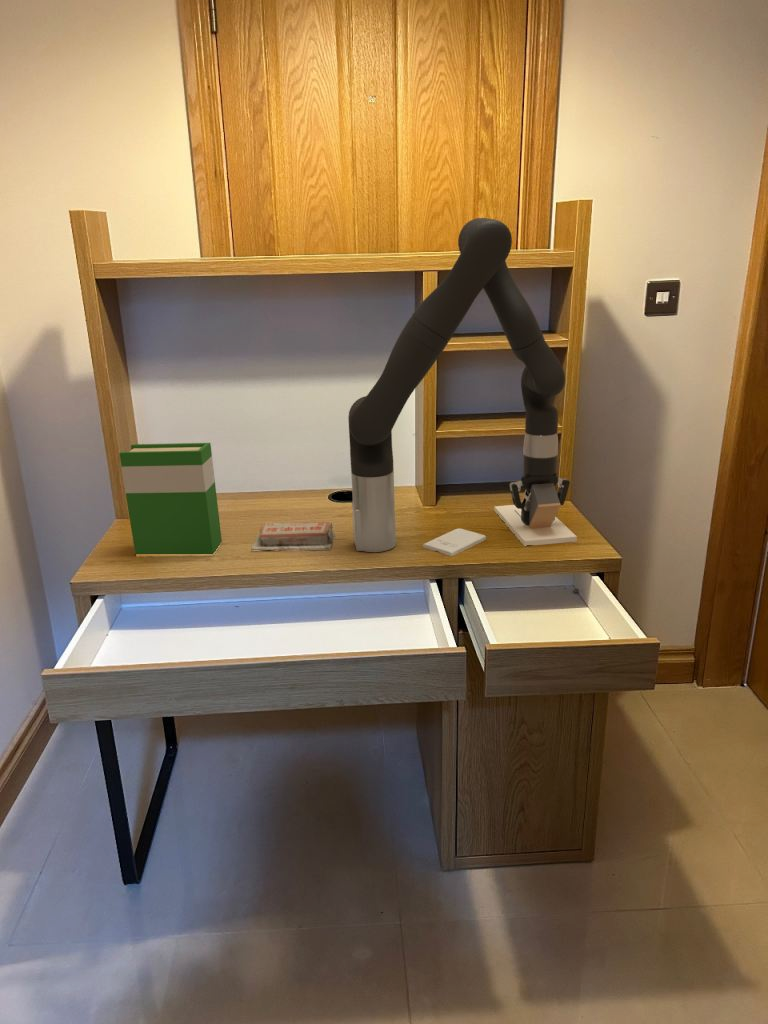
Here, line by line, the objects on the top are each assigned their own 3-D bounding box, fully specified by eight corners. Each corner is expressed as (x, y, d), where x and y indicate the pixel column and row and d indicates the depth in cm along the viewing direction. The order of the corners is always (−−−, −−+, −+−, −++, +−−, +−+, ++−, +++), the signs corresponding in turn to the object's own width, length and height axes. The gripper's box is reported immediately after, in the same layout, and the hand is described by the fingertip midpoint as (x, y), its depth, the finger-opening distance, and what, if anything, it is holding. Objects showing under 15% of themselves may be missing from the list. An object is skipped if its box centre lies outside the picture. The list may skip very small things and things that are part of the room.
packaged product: (334, 516, 175) (329, 532, 166) (335, 536, 177) (330, 552, 167) (257, 518, 176) (249, 533, 167) (259, 537, 178) (251, 553, 168)
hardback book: (135, 557, 168) (119, 453, 160) (147, 544, 175) (132, 444, 167) (213, 556, 166) (200, 451, 159) (222, 543, 173) (210, 442, 166)
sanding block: (560, 505, 165) (553, 482, 168) (538, 507, 164) (532, 484, 168) (550, 526, 173) (543, 505, 176) (529, 528, 172) (523, 506, 175)
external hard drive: (485, 542, 170) (451, 559, 162) (457, 533, 176) (422, 549, 167) (486, 535, 170) (451, 552, 161) (457, 527, 175) (422, 542, 167)
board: (524, 546, 165) (524, 540, 165) (494, 510, 188) (494, 506, 187) (576, 541, 167) (576, 536, 166) (540, 507, 189) (540, 502, 189)
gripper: (514, 458, 163) (512, 531, 169) (577, 454, 165) (573, 526, 171) (504, 450, 170) (503, 520, 176) (565, 445, 172) (561, 515, 178)
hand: (538, 523), depth 173 cm, fingers closed on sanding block, 5 cm apart
